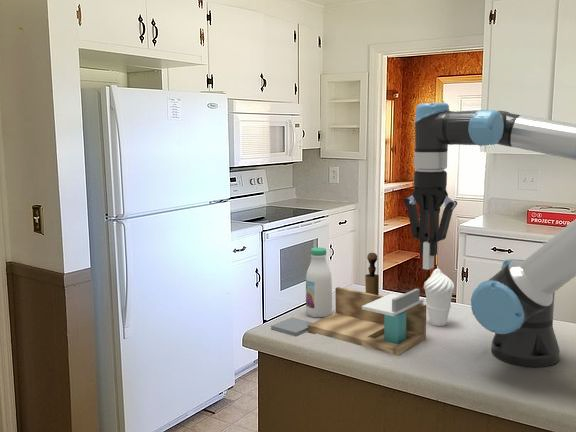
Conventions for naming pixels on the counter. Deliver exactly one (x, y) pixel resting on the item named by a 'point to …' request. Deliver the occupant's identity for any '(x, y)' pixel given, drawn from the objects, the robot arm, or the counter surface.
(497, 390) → the counter surface
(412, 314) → the brown piece
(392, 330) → the block
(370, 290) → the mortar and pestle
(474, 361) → the counter surface
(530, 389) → the counter surface
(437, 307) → the soft serve ice cream cone
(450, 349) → the counter surface
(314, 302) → the milk bottle
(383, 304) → the lid
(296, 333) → the coaster
